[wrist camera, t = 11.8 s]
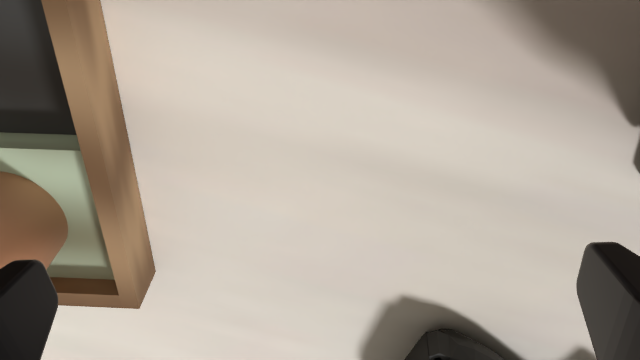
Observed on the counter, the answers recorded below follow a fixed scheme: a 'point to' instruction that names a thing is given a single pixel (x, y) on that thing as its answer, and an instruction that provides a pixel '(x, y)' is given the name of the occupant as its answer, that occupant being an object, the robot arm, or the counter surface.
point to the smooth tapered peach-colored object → (29, 222)
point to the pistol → (449, 348)
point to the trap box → (74, 146)
